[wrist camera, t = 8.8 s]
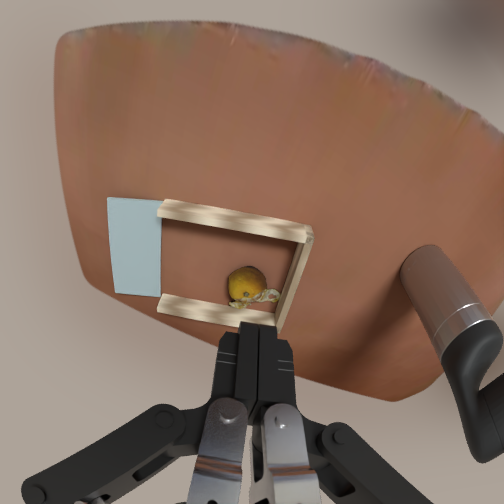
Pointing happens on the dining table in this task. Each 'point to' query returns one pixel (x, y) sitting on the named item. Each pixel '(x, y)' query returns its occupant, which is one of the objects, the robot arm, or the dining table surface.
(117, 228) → the panel
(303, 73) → the dining table surface
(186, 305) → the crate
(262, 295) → the fruit
